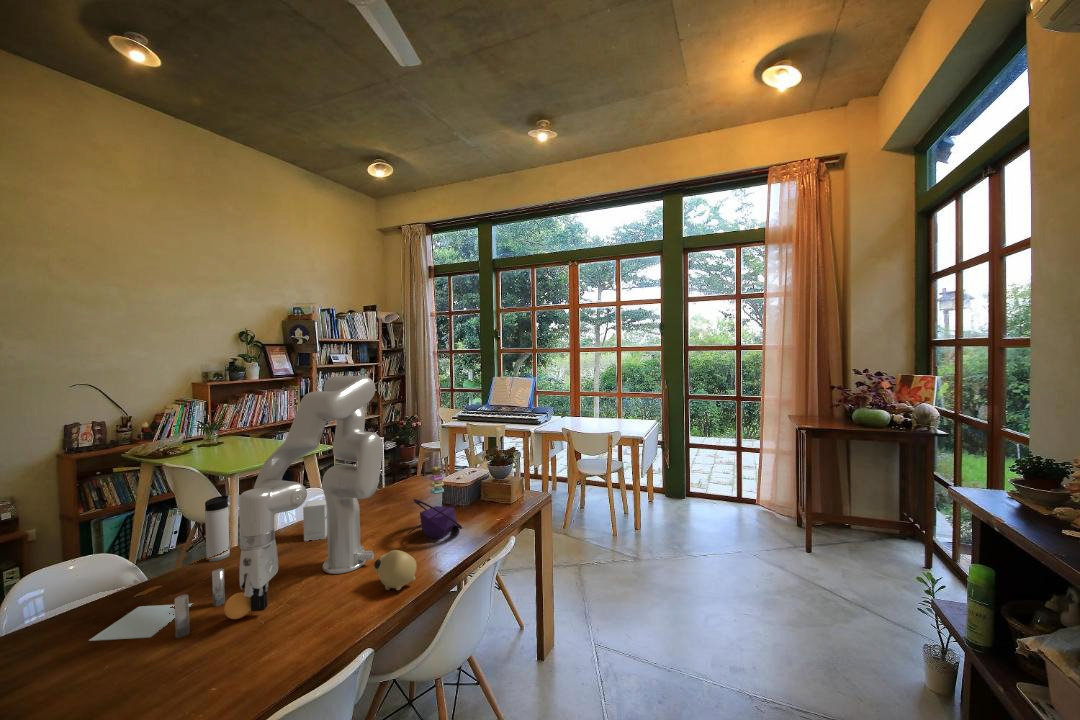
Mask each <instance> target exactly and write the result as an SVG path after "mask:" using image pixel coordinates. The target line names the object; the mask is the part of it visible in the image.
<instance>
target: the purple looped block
mask: <svg viewBox="0 0 1080 720" xmlns="http://www.w3.org/2000/svg"><path fill="white" fill-rule="evenodd" d="M441 471H442V467H441V466H434V467H431V472H432V473H431V476H429V477H428V479H429V480H430V481H432V482H430V483H429V484H428V486H429V487H431V488H432V489H430V490H429V493H430V494H433V495H439V494H443V493H444V492H445V491H444V490H445V489H444V488H443V487H444V485H445V484H444V482H443V479H444V475H443V474H441ZM466 497H467V495H465V496H463V497H461V498H459V499H458V500H457V501H455V502H453V503H452V504H450V505H449V506H438V505H435V506H432V505H430V504H428V503H425V502H424V501H422V500H419V499H416V498H413V501H414V503H415V504H416V505H417V506H419V507H420V508H422V509H423V510H422V511H420V512H419V515H420V523H421V524H419V525H418V526H416V527H415V528H413V529H412V530H410V531H408V532H407V533H406V534H407V535H409V534H410V533H412V532H414V531H415V530H417V529H418V528H420V527H421V530H422V532H424V534H425V535H426V536H427V537H428V538H430V539H443V537H445V536H447V535H448V534H449V533H451V531H452V529H454V527H455V528H456V529H460V530H462V529H463V527H462V525H461V524H459V523H458V520H457V516H456V509H455V507H452V506H454V505H455V504H456V503H458V502H460V501H462V500H463V499H464V498H466ZM439 500H440V499H438V501H439ZM438 504H440V503H439V502H438ZM423 505H425V506H426V507H429V508H428V509H427V508H426V507H425V506H423Z"/></svg>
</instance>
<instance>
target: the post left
mask: <svg viewBox="0 0 1080 720" xmlns="http://www.w3.org/2000/svg"><path fill="white" fill-rule="evenodd" d="M189 599H190V598H189V594H182V595H181V594H180V595H179V596H177V597H174V605H175V619H174V623H175V625H174V627H175V638H176V639H180V638H184V637H186V636H189V634H190V633H191V632H190V631H191V630H190V607H189V604H190V603H189V602H190V601H189Z"/></svg>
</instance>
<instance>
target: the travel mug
mask: <svg viewBox="0 0 1080 720" xmlns="http://www.w3.org/2000/svg"><path fill="white" fill-rule="evenodd" d="M204 509H205V510H204V515H205V517H204V520H205V521H204V522H205V524H204V525H205V547H206V549H205V550H206V559H207V558H209V557H212V556H214V555H217V554H220V553H222V552H223V551H226V550H228V551H226V552H224V553H222V554H221V555H218V556H215V557H212V558H209V559H211V560H209V561H208V562H218V561H222V560H224V559H227V558H228V557H230V554H231V552H230V551H231V550H230V549H231V548H230V547H231V546H230V521H229V520H230V517H229V516H230V515H229V495H228V494H222V495H221V496H215V497H212V498H210V499H207V500H206V501H205V502H204Z"/></svg>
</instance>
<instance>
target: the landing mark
mask: <svg viewBox="0 0 1080 720" xmlns="http://www.w3.org/2000/svg"><path fill="white" fill-rule="evenodd" d="M192 604H193V603H189V608H190V607H192V606H193V605H192ZM191 605H192V606H191ZM172 606H173V607H174V606H175V604H162V605H161V604H160V605H159V604H158V605H145V606H144V605H142V606H137V607H136V608H134V609H133V610H131V611H130V612H129V613H127V614H125V615H124V616H122V618H120V619H118V620H117V621H115V622H113V623H112V624H110V625H109V626H108V627H107V628H105V629H103V630H101V631H100V632H99V633H97V634H96V635H94V636H92V638H91V637H90V639H88V641H89V642H95V641H96V642H97V641H113V640H124V639H125V640H127V639H128V640H131V639H146V638H147V639H148V638H152V637H153V636H155V635H156V634H157V633H158V632H160V631H161V630H162V629H163V627H164V628H165V627H166V626H167V625H169V624H170V623H171V622H173V621H174V620H175V619H174V618H175V609H174V608H170V607H172ZM169 613H170V614H169ZM173 614H174V615H173ZM173 619H174V620H173ZM172 620H173V621H172ZM169 622H170V623H169ZM168 623H169V624H168ZM159 630H160V631H159Z"/></svg>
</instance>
